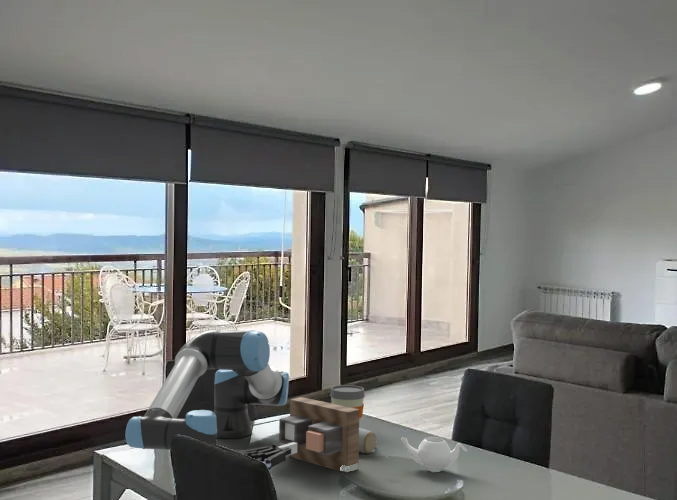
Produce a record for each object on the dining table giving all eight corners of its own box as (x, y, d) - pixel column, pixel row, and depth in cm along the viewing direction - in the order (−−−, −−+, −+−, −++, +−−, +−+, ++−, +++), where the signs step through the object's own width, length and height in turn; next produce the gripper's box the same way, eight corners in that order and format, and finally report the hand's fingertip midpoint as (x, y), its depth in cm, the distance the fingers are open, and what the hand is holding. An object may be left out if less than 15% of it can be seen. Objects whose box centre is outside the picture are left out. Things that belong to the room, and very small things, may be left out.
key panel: (273, 461, 212) (274, 403, 212) (300, 452, 221) (301, 397, 221) (332, 479, 196) (333, 416, 196) (358, 469, 205) (359, 409, 205)
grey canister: (364, 456, 218) (365, 432, 218) (344, 451, 223) (344, 428, 223) (382, 449, 227) (383, 426, 227) (362, 445, 232) (363, 422, 232)
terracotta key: (306, 448, 200) (306, 431, 200) (315, 445, 203) (315, 429, 203) (318, 452, 197) (319, 434, 197) (327, 449, 200) (328, 432, 200)
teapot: (468, 477, 200) (468, 446, 200) (399, 473, 203) (399, 441, 203) (467, 467, 209) (467, 437, 209) (401, 463, 212) (401, 433, 212)
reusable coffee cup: (332, 424, 257) (333, 384, 257) (365, 426, 255) (366, 385, 255) (327, 433, 245) (327, 391, 244) (362, 435, 243) (362, 392, 243)
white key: (284, 438, 210) (285, 422, 210) (293, 435, 214) (294, 419, 214) (296, 441, 207) (296, 425, 207) (305, 438, 210) (305, 422, 210)
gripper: (214, 475, 179) (278, 455, 197) (248, 487, 171) (312, 465, 189) (214, 447, 179) (279, 429, 197) (248, 457, 171) (312, 438, 189)
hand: (295, 447), depth 193 cm, fingers closed
